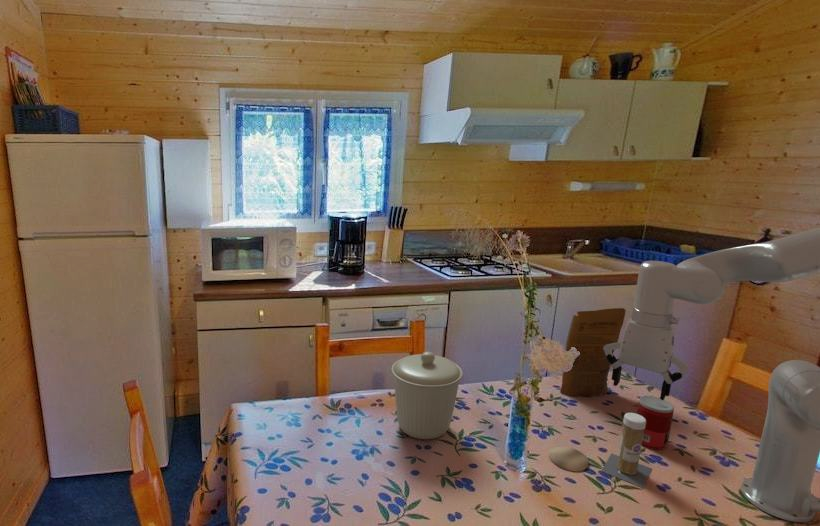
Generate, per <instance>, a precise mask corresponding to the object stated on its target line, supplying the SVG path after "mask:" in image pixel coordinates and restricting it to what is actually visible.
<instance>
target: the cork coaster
mask: <svg viewBox="0 0 820 526" xmlns="http://www.w3.org/2000/svg"><path fill="white" fill-rule="evenodd" d="M548 458H549V460H550V461H551V463H553V464H554V465H555V466H557V467H559V468H561V469H563V470H565V471H570V472H582V471H585V470H586V469H587V468H588V467H589V459H588V457H587V456H586V455H585V454H584V453H583V452H581V451H579V450H578V449H576V448H573V447H570V446H563V445H561V446H555V447H552V448H551V449H550V450H549V453H548Z"/></svg>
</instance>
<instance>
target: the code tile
mask: <svg viewBox="0 0 820 526" xmlns="http://www.w3.org/2000/svg"><path fill="white" fill-rule="evenodd" d="M618 457H619V454H618V455H617V454H615V453H612V452H610V455H609V456H608V459H607V461H606V462H605V464H604V466H603V467H602V469H601V472H602V473H605V474H607V475H609V476H612V477H615V478H616V479H619V480H622V481H623V482H627V483H629V484H632V485H634V486H636V487H640V488H642V489H645V486H646V483H647V481H648V479H649V477H650V473H651V472H652V467H649V466H647V465H643V464H641V463H639V462H638V468H637V470H638V471H637V473H636V474H635V475H628V474H625V473H622V472H621V471H619V470H618V468H617V463H618Z"/></svg>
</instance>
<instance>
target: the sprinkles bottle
mask: <svg viewBox="0 0 820 526" xmlns="http://www.w3.org/2000/svg"><path fill="white" fill-rule="evenodd" d="M622 423H623V427H622V431H621V435H620V436H621V437H620V442H619V449H618V456H619V457H618V463H617V468H618V470H619V471H621V472H622V473H625V474H628V475H635V474H636V473H637V471H638V470H637V468H638V463H639V462H640V459H641V452H642V446H643V445H642V439H643V432H644V429H645V426H646V419H645V418H644V417H643V416H641V415H639V414H637V413H634V412H626V413H625V414H624V415H623V421H622Z"/></svg>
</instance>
